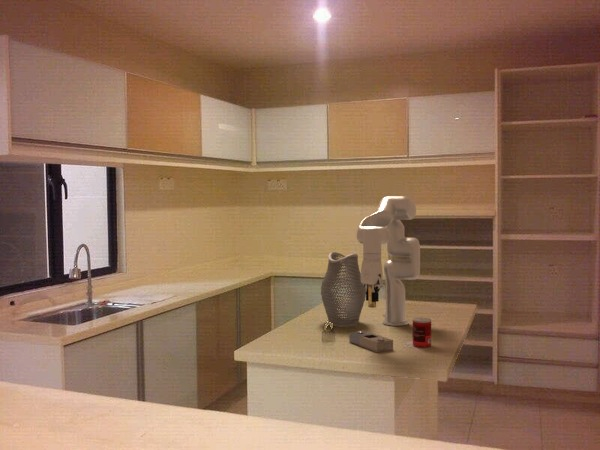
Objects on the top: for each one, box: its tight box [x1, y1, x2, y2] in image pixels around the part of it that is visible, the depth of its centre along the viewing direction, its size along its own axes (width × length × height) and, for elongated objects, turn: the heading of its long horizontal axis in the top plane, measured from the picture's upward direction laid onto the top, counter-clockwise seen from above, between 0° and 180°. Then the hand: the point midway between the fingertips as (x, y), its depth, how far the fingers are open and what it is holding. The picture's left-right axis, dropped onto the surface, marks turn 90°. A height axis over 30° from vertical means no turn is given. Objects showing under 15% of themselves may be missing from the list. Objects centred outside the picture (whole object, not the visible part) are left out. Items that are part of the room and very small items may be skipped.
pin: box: [367, 284, 377, 309], centre depth 243 cm, size 3×3×10 cm
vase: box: [320, 251, 366, 328], centre depth 286 cm, size 22×22×35 cm
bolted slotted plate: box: [349, 330, 394, 353], centre depth 242 cm, size 20×8×5 cm, turn 28°
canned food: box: [412, 317, 432, 349], centre depth 242 cm, size 8×8×11 cm
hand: (372, 300), depth 243 cm, fingers closed on pin, 3 cm apart
